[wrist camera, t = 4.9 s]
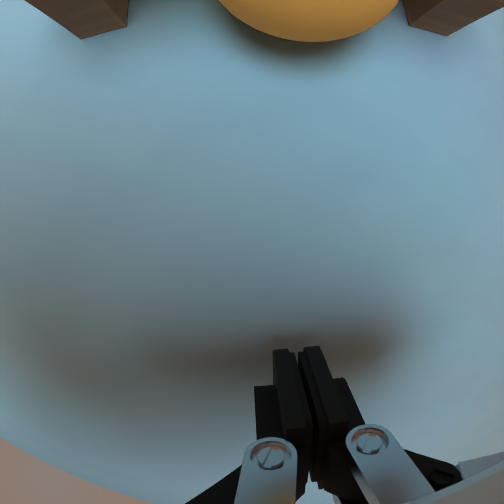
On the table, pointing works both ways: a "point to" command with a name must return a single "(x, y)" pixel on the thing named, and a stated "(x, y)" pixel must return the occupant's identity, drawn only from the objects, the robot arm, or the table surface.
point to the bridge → (116, 3)
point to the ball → (310, 17)
